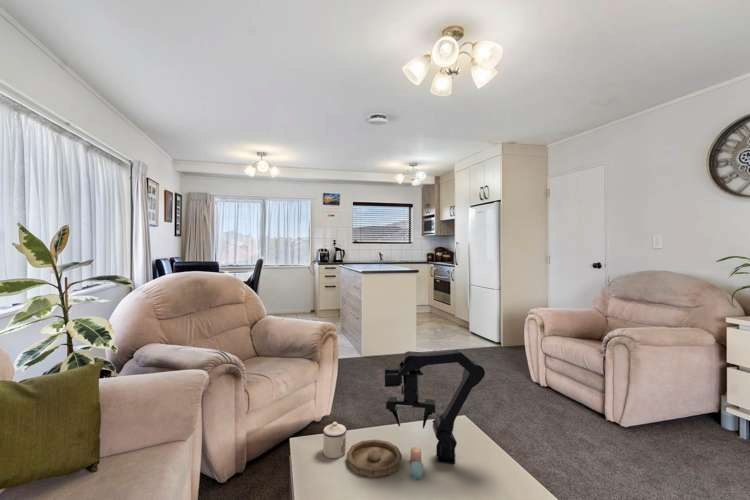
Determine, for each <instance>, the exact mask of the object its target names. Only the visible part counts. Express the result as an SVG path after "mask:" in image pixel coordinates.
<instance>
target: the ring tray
mask: <svg viewBox="0 0 750 500" xmlns="http://www.w3.org/2000/svg"><path fill="white" fill-rule="evenodd" d="M402 457H403V456H402V453H401V450H400V449H399V448H398V446H396V445H395V444H393V443H391V442H389V441H387V440H381V439H369V440H361V441H359V442H356V443H355V444H353V445H351V447H350V448H349V450H348V451H347V452H346V461H347V465H348V467H349V469H350V470H351V471H352V472H353V473H355V474H357V475H359V476H362V477H365V478H370V479H371V478H373V479H374V478H375V479H377V478H385V477H389V476H391V475H392V474H394V473H395V472H397V471H398V470H399V468H400V467H401V463H402Z"/></svg>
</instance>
